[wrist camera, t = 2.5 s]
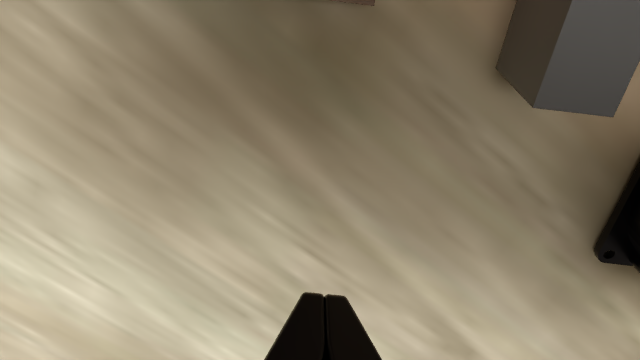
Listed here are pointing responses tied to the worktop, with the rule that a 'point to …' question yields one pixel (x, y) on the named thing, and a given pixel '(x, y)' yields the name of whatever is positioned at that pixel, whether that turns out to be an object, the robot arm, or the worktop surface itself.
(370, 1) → the walnut board
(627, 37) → the dark grey pillar block
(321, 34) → the worktop surface
